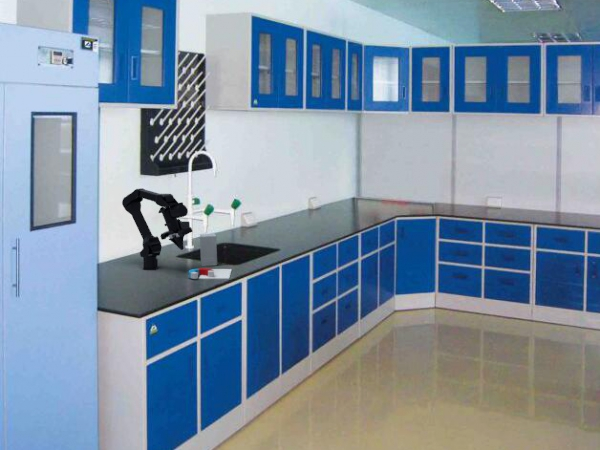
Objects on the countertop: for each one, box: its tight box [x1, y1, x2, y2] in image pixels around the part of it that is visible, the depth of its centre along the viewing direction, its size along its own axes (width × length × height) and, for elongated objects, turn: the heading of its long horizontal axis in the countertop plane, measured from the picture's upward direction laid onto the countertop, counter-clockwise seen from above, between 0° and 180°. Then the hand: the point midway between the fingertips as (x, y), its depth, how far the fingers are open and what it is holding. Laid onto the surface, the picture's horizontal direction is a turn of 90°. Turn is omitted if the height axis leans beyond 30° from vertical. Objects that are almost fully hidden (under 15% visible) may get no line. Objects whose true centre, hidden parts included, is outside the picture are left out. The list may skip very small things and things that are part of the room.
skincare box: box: [199, 233, 218, 267], centre depth 390 cm, size 8×7×16 cm
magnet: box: [188, 267, 214, 280], centre depth 363 cm, size 12×3×10 cm
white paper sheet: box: [198, 268, 233, 280], centre depth 370 cm, size 14×20×1 cm
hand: (182, 249), depth 372 cm, fingers closed
